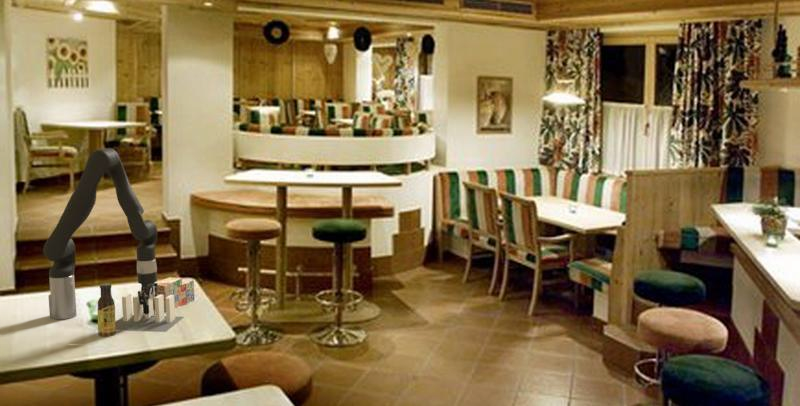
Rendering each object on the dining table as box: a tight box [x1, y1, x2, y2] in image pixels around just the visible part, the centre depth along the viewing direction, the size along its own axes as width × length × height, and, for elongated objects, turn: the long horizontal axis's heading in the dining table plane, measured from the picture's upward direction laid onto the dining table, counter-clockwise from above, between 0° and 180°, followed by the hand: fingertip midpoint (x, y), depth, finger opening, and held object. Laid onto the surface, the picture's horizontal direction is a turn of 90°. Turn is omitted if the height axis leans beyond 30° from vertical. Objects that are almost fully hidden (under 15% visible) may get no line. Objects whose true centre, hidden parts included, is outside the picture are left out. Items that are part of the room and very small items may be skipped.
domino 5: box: [165, 295, 176, 323], centre depth 304 cm, size 2×5×10 cm, turn 175°
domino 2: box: [132, 293, 144, 321], centre depth 306 cm, size 2×5×10 cm, turn 175°
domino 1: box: [121, 292, 133, 321], centre depth 306 cm, size 2×5×10 cm, turn 175°
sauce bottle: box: [97, 282, 117, 338], centre depth 287 cm, size 7×6×20 cm
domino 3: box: [144, 293, 155, 318], centre depth 305 cm, size 2×5×10 cm, turn 175°
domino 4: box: [154, 295, 165, 322], centre depth 305 cm, size 2×5×10 cm, turn 175°
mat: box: [115, 314, 185, 333], centre depth 302 cm, size 25×19×1 cm
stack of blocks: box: [154, 276, 195, 314], centre depth 326 cm, size 21×6×12 cm, turn 162°
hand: (149, 311), depth 305 cm, fingers closed on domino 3, 5 cm apart
